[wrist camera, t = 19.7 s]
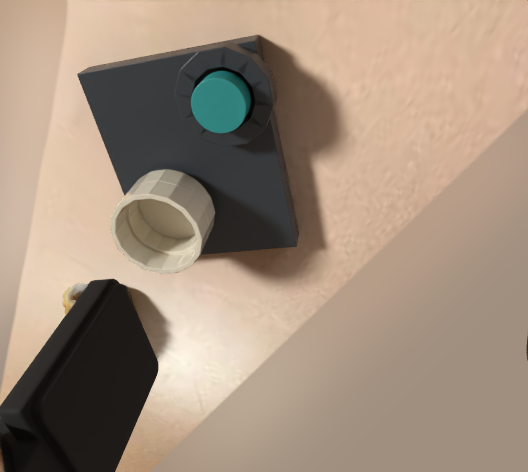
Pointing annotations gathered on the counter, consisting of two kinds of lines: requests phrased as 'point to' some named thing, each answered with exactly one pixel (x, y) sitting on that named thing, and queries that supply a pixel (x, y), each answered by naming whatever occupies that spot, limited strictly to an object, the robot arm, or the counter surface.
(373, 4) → the counter surface
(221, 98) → the button
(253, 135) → the dark grey flat block
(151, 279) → the counter surface
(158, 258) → the bowl
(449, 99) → the counter surface
